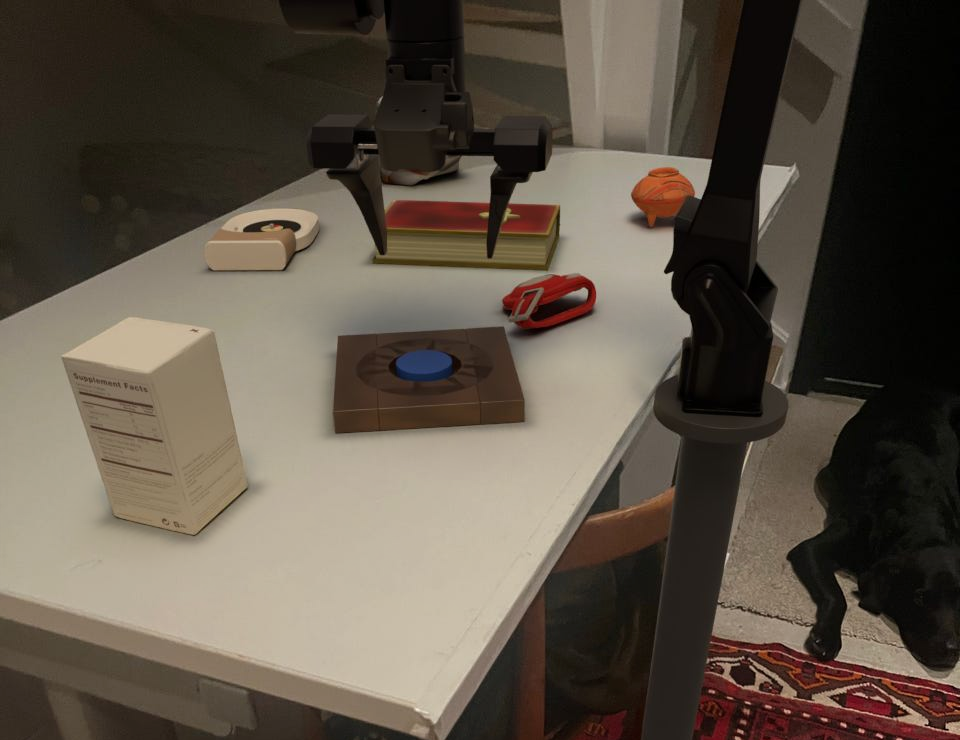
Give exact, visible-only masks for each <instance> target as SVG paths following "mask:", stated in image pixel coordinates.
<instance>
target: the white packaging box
mask: <svg viewBox="0 0 960 740" xmlns="http://www.w3.org/2000/svg"><path fill="white" fill-rule="evenodd" d="M217 342H218V341H217V338H216V333H215V330H213V329H211V328H207V327H202V326H197V325H191V324H183V323H178V322H177V323H176V322H168V321H163V320H158V319H157V320H155V319H149V318H142V317H136V316H128V317H126V318H124V319H122V320H121V321H119V322H118V323H116V324H114V325H113V326H111V327H109V328H107V329H105V330H104V331H102V332H100V333H99V334H97V335H95V336H94V337H92V338H90V339H89V340H87V341H85V342H84V343H81V344H80V345H78V346H77V347H75V348H73V349H71V350H69V351H68V352H66V353H64V354H62V355H61V356H60V358H61V361H62V363H63V367H64V369H65V372H66V376H67V379H68V382H69V385H70V388H71V391H72V394H73V397H74V400H75V402H76V407H77V409H78V412H79V414H80V418H81V421H82V424H83V427H84V429H85V432H86V436H87V438H88V441H89V444H90V447H91V450H92V454H93V456H94V459H95V462H96V466H97V469H98V472H99V474H100V478H101V481H102V483H103V486H104V489H105V492H106V496H107V499H108V501H109V504H110V507H111V510H112V513H113V515H114V516H115V517H117V518H120V519H123V520H127V521H131V522H135V523H139V524H143V525H147V526H151V527H157V528H161V529H165V530H168V531H173V532H178V533H182V534H187V535H192V536H196V535H197V534H198V533H199V532H200V531H202V529H203V528H204V527H205V526H206V525H208V523H210V521H212V520H213V519H214V518H215V517H216V516H217V515H218V514H219V513H221V512H222V511H223V510H224V509H225V508H226V507H227V506H229V504H230V503H232V502H233V501H234V500H235V499H236V498H237V497H238V496H240V495H241V493H242V492H244V491H245V490H246V489H247V488H248V487H249V483H248V479H247V476H246V471H245V466H244V463H243V461H244V460H243V456H242V453H241V448H240V444H239V439H238V434H237V429H236V424H235V420H234V416H233V411H232V406H231V402H230V398H229V397H230V396H229V393H228V387H227V384H226V379H225V374H224V370H223V365H222V362H221V355H220V352H219V348H218V343H217Z"/></svg>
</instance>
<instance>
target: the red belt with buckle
mask: <svg viewBox="0 0 960 740" xmlns="http://www.w3.org/2000/svg"><path fill="white" fill-rule="evenodd" d="M583 288H584V289H586V290H587V297H586V300H585V301H584V302H583V303H582V304H580V305H578V306H575V307H573V308H570V309H567V310H565V311H562V312H560V313H557V314H554V315H552V316H549V317H546V318H543V319H541V320H538V321H533V320H532V318H531V315H532V314H533V313H537V311H538V310H539V309H538V306H542V305H547V304H549V303H552V302H553V301H557V300H558V299H560V298H563V297H565V296H566V295H569V294H571V293H573V292H578V291H580V290H582V289H583ZM596 300H597V289H596V285H595V283H594V282H593V281H592V280H591V279H589V278H588V277H586V276H585V275H582V274H581V273H579V272H574V273H568V274H565V275H559V274H551V273H550V274H544V275H540V276H536V277H533V278H530V279H528V280H525V281H523V282H521V283H519V284H518V285H516V286H515V287H514V288H513V289H512V290H511V292H510V293H508V294H507V295H505V296H504V297H503V298H502V299H501V303H502V305H503V308H504V309H505V310H507V311H511V314H510V315H509V317H508V319H507V321H508V323H514V324H515V325H516V326H517V327H518V328H521V329H523V330H529V329H539V328H547V327H551V326H554V325H557V324H560V323H563V322H565V321H568V320H571V319H573V318H576V317H579V316H581V315H584V314H586V313H588V312H590V311H591V309H593V307H594V306H595V304H596Z"/></svg>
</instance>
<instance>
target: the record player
mask: <svg viewBox="0 0 960 740" xmlns="http://www.w3.org/2000/svg"><path fill="white" fill-rule="evenodd" d="M319 222H320V221H319V216H318V215H317V214H316V213H314V212H312V211H309V210H306V209H305V210H304V209H298V208H266V209H259V210H252V211H249V212H245V213H240V214H238V215H235V216H233V217H231V218H230V219H229V220H227V221H226V222H225V223H224V224H223V225H222V227H221V228H220V229H218V230H217V232H216V233H215V234H214V235H213V236H212V237H211V238H210V240H209V241H208V242H207V243H206V244H205V246H204V256H205V261H206V263H207V266H208V267H209V268H210V269H211V270H212V271H283V270H284V269H285V268H286V266H287V264H288V263H289V261H290V259H291V258H292V256H293V255H294V254H295V252H298V251H300V250H303V249H305V248H307V247H309V246H310V245H311V244H312V243H313V242H314V240H315V238H316V237H317V235H318V233H319V231H320V223H319Z"/></svg>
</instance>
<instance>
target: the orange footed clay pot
mask: <svg viewBox="0 0 960 740" xmlns="http://www.w3.org/2000/svg"><path fill="white" fill-rule="evenodd" d="M687 195H690V196H693V197H695V195H696V191H695V188H694V186H693V184H692V183H691V182H690V180H689V179H688V178H687V177H686V176H685V175H683V174H682V173H680V170H679V169H678V168H676V167H671V166H665V167H657V168H654V169H651V170H649V171H648V172H647V175H646V176H644V177H643V178H641V179H640V180H639V181H638V182H637V183H636V184H635V185H634V187H633V188H632V190H631V193H630V197H631V200H632V203H634V204H635V206H636V207H637V208H638V209H639V210H640V211H641V212H643V214H644V215H645V216H646V218H647V222H648V226H649V227H650V228H654V224H655V222H656V219H657V218H668V217H672V216H675V215H676V214H677V213H678V211H679V209H680V207H681V205H682V204H683V202H684V200H685V198H686V196H687Z"/></svg>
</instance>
